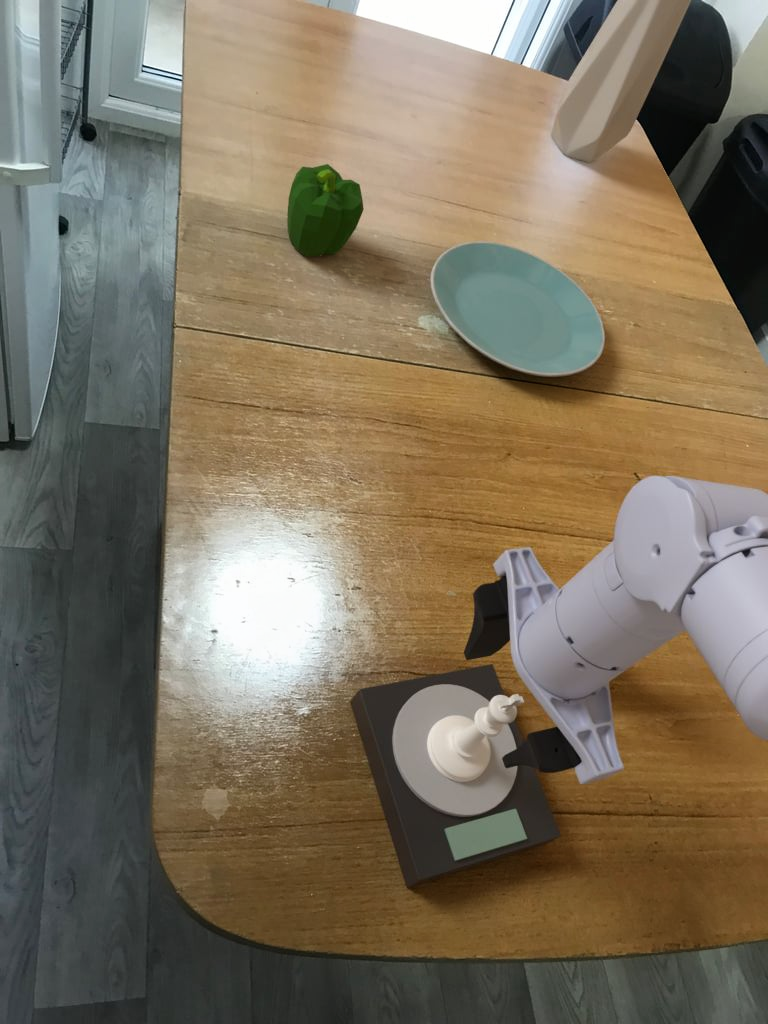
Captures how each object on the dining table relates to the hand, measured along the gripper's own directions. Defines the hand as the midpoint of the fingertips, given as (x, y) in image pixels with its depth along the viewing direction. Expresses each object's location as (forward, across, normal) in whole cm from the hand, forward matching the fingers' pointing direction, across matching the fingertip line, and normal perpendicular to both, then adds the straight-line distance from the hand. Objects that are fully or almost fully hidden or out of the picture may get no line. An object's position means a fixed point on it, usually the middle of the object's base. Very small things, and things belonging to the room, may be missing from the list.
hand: (495, 705), depth 58 cm
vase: (+14, +86, -57) cm, 104 cm away
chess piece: (+7, -1, 0) cm, 7 cm away
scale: (+10, -2, 0) cm, 10 cm away
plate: (+13, +47, -28) cm, 56 cm away
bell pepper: (+13, +59, -6) cm, 61 cm away
